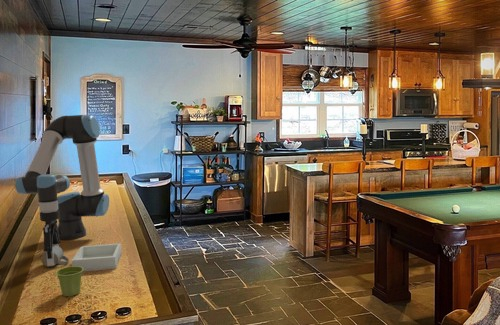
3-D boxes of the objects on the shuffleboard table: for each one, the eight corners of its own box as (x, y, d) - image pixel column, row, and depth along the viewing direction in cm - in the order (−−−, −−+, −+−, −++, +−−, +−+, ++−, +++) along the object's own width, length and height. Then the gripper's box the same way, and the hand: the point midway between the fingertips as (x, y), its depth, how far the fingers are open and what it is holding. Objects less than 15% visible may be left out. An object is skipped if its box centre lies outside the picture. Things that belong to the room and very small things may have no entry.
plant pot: (88, 288, 173) (86, 265, 172) (80, 298, 164) (78, 274, 163) (63, 289, 173) (61, 266, 172) (53, 299, 164) (51, 275, 163)
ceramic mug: (40, 268, 197) (39, 250, 196) (46, 262, 205) (45, 245, 204) (66, 266, 199) (65, 249, 198) (71, 260, 207) (70, 243, 206)
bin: (82, 257, 211) (81, 246, 211) (121, 253, 214) (120, 243, 213) (72, 272, 191) (71, 260, 191) (115, 268, 194) (115, 257, 193)
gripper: (46, 206, 209) (50, 255, 211) (32, 216, 188) (37, 271, 191) (63, 205, 210) (68, 253, 212) (51, 215, 189) (56, 269, 192)
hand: (53, 262), depth 202 cm, fingers closed on ceramic mug, 8 cm apart
